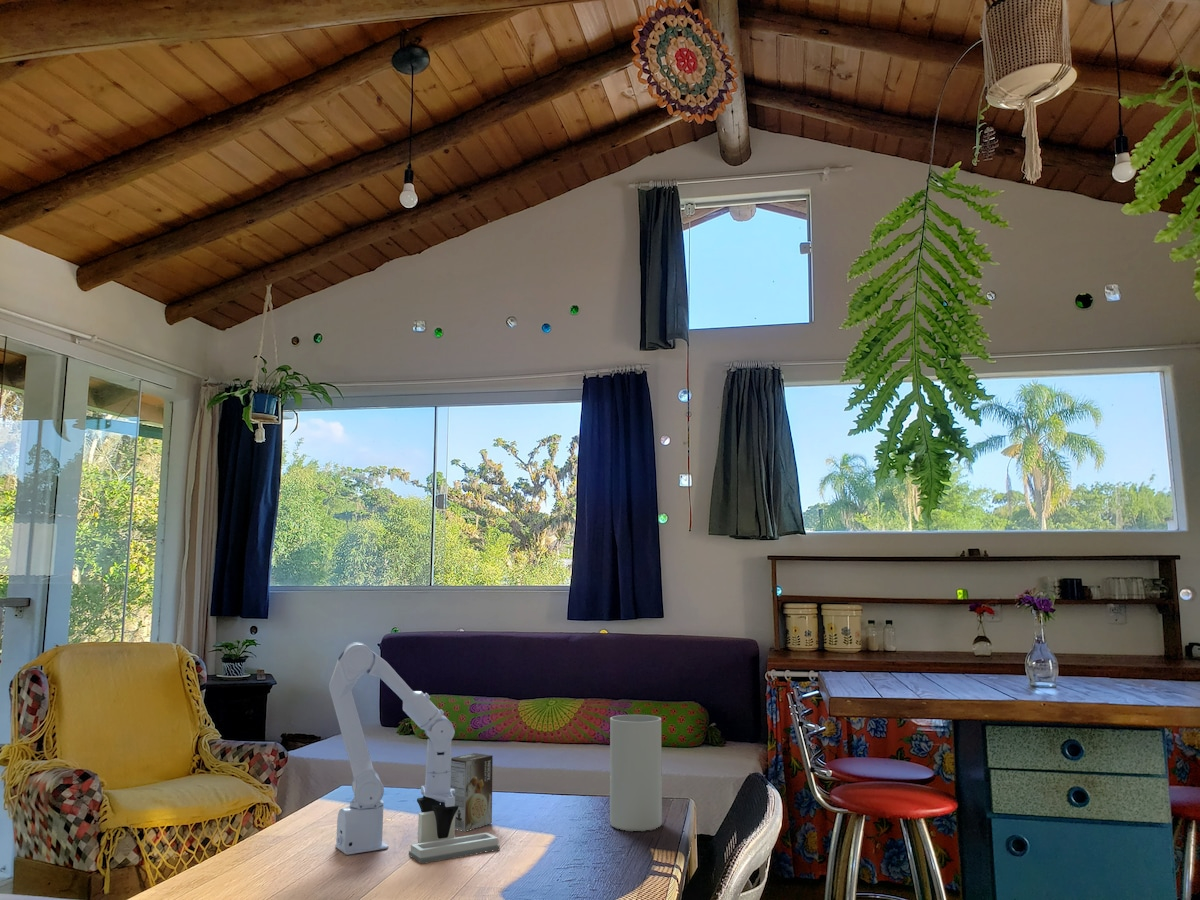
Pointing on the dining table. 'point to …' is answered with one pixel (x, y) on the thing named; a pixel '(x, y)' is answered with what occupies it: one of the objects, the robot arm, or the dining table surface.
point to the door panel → (431, 828)
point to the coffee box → (472, 790)
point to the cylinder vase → (635, 772)
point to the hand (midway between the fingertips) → (436, 833)
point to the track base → (453, 847)
